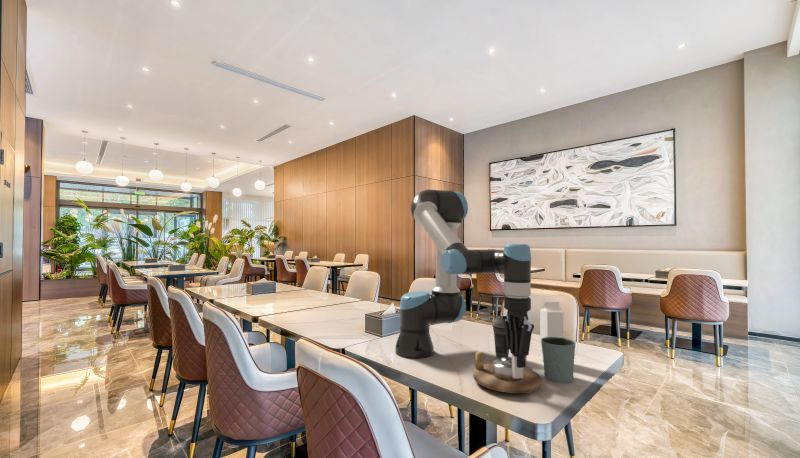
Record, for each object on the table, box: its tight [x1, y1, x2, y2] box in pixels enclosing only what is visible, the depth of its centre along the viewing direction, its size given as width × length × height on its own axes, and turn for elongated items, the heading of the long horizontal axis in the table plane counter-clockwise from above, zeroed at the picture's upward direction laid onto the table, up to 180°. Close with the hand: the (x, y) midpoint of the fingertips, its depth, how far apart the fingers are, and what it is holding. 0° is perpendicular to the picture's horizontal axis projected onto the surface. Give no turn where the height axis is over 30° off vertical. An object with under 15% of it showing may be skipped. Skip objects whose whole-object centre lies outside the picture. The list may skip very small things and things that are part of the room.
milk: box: [539, 301, 565, 362], centre depth 130 cm, size 6×6×22 cm
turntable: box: [473, 351, 542, 394], centre depth 109 cm, size 20×20×6 cm
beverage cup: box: [492, 304, 510, 359], centre depth 135 cm, size 7×7×20 cm
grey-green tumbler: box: [541, 337, 576, 384], centre depth 114 cm, size 10×10×12 cm
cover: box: [492, 356, 523, 381], centre depth 108 cm, size 9×9×5 cm
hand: (517, 377), depth 103 cm, fingers closed
